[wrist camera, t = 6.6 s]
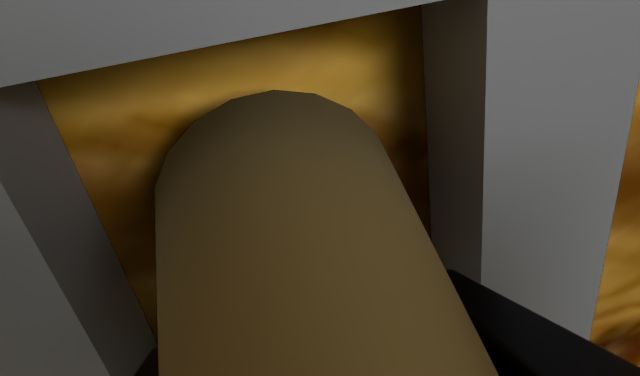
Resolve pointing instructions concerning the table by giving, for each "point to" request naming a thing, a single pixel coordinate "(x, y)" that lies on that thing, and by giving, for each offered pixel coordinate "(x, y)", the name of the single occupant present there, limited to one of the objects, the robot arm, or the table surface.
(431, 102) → the socket plate
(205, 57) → the table surface
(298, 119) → the brown pawn
